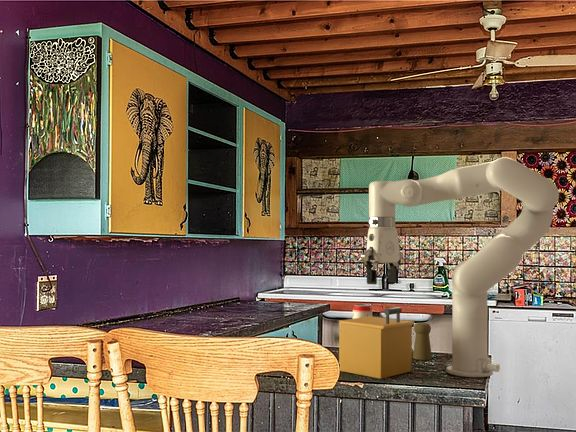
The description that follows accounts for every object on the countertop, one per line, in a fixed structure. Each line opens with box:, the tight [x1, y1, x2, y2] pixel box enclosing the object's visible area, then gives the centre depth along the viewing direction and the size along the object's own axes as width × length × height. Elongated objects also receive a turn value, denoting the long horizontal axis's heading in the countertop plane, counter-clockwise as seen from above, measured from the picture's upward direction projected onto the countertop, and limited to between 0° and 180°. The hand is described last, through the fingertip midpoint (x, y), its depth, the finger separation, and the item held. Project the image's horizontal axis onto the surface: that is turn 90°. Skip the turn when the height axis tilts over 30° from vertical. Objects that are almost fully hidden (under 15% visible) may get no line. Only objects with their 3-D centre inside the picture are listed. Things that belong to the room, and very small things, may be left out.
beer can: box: [352, 303, 373, 319], centre depth 218 cm, size 6×6×16 cm
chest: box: [338, 323, 413, 380], centre depth 194 cm, size 15×15×13 cm
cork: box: [412, 322, 433, 361], centre depth 214 cm, size 6×6×11 cm
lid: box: [338, 306, 415, 329], centre depth 194 cm, size 15×15×5 cm
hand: (382, 283), depth 197 cm, fingers open, 9 cm apart
